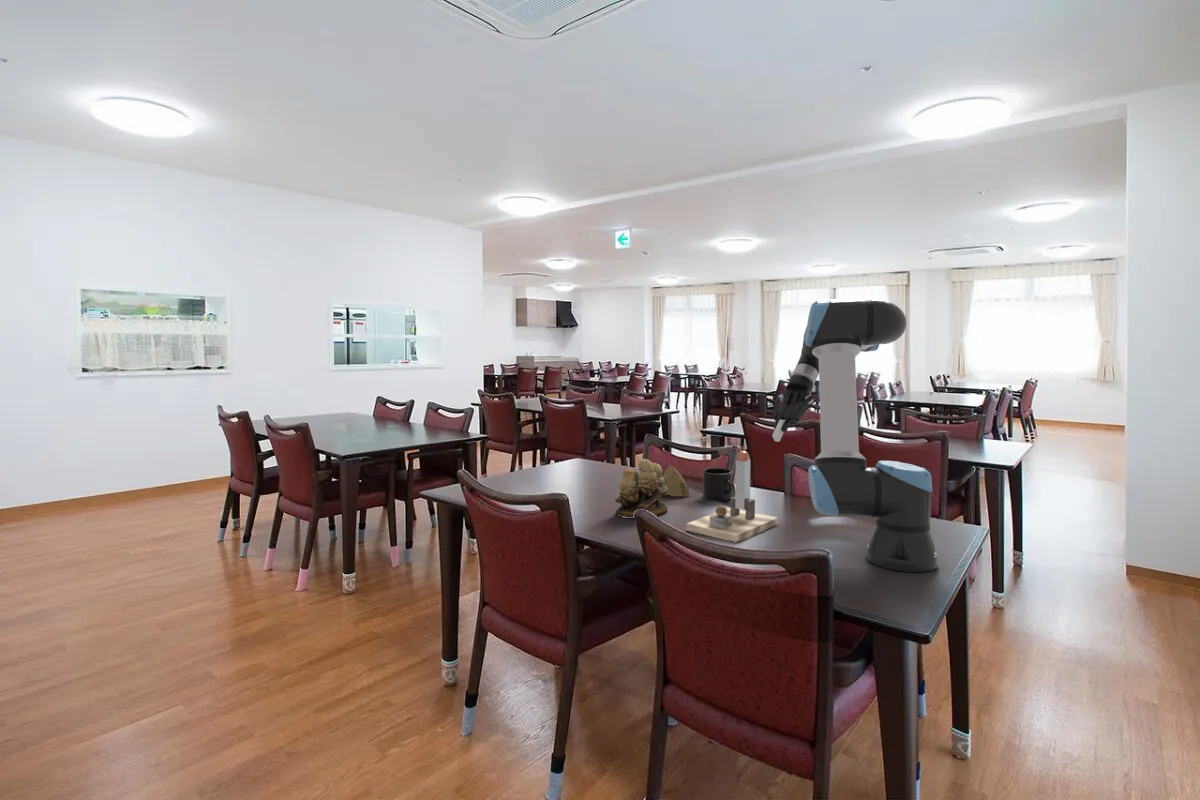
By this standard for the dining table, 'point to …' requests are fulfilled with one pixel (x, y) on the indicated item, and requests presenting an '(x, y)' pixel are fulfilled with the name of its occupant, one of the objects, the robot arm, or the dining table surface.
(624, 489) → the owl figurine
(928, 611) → the dining table surface
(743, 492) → the lever
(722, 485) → the mug
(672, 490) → the rock
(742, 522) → the tan bracket base plate
